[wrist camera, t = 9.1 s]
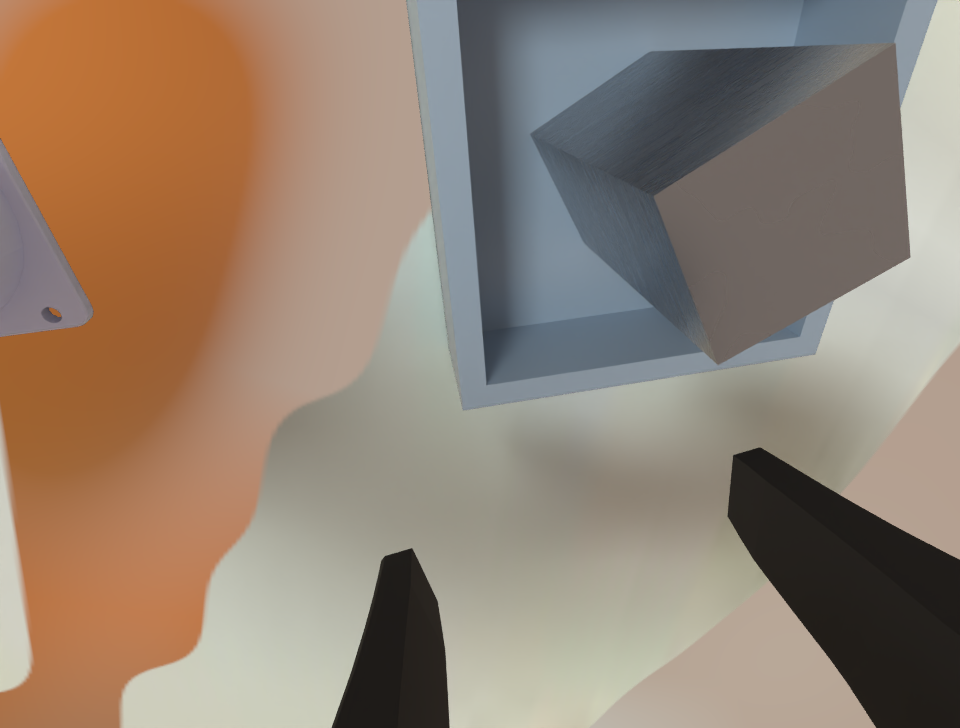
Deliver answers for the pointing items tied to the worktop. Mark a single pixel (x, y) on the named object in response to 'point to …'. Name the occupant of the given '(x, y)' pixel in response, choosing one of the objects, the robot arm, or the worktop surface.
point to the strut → (738, 182)
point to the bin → (535, 199)
